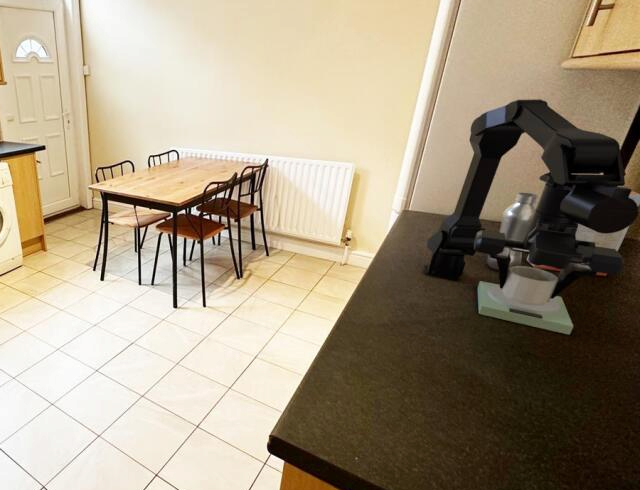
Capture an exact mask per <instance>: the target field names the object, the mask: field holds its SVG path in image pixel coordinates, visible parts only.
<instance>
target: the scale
mask: <svg viewBox="0 0 640 490" xmlns="http://www.w3.org/2000/svg"><path fill="white" fill-rule="evenodd" d="M477 304H478V315H482V316H487V317H491V318H495V319H500V320H502V321H503V320H504V321H509V322H513V323H516V324H520V325H525V326H530V327H533V328H538V329H542V330H546V331H550V332H556V333H559V334H564V335H568V336H570V335H571V333H572V331H573V329H574V324H573V322H572V319H571V317H570V315H569V312H568V310H567V307H566V305H565V303H564V300H563V297H562V296H558V295H557V296H556V297H554V298H553V299H551V298H550V300H549V302H547V303H546V304H544V305H541V306H532V305H526V304H521V303H518V302H515V301H512V300H510V299H508V298H506V297H505V296H504V295H503V293H502V291H501V288H500V284H499V283H498V284H497V283H493V282H487V281H482V280H480V281H479V283H478V285H477Z"/></svg>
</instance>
